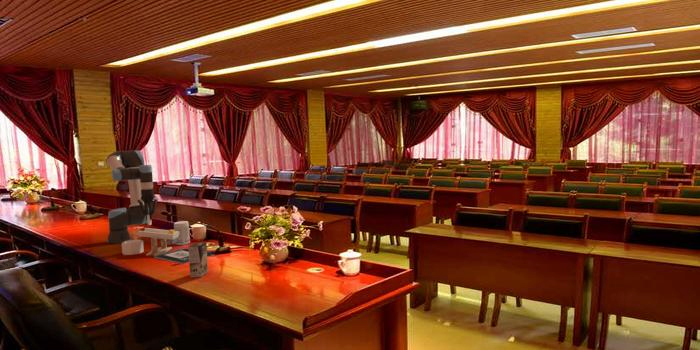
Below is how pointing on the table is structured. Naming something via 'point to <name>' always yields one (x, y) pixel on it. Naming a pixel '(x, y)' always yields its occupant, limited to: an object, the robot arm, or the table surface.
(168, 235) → the seesaw chute
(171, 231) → the ball
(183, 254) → the sketchbook
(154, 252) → the chute stand
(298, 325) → the table surface
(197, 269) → the coffee box
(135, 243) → the cup
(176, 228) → the supplement tub
